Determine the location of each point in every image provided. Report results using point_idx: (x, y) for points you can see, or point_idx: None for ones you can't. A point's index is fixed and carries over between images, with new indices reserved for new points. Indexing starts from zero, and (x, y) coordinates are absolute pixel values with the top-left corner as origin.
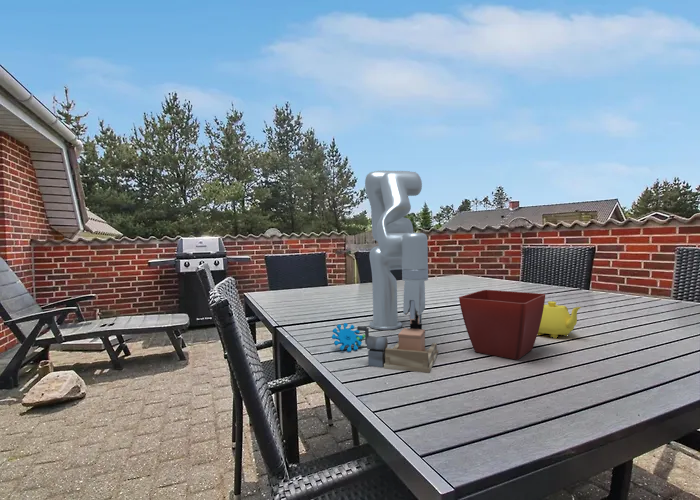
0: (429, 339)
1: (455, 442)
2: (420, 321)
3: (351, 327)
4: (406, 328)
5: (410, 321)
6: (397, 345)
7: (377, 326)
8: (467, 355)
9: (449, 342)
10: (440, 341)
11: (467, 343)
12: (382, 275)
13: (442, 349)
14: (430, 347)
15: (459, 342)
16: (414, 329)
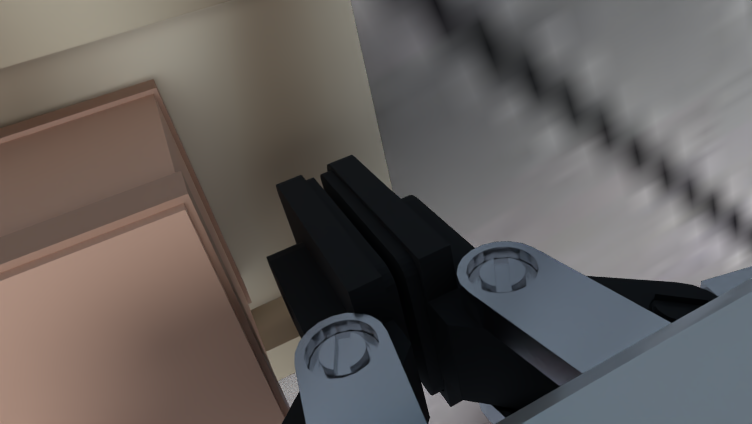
0: (713, 11)
1: None
2: (482, 410)
3: None
4: (188, 265)
5: (302, 398)
6: (87, 8)
7: None
8: (439, 404)
9: (662, 181)
10: (675, 117)
11: (659, 275)
12: None
13: (499, 233)
14: (279, 349)
15: (671, 230)
16: (214, 403)
